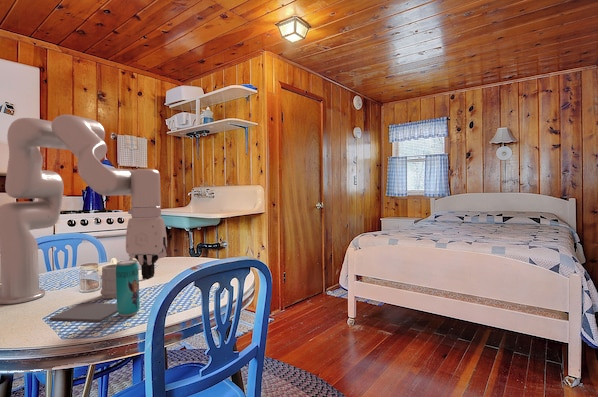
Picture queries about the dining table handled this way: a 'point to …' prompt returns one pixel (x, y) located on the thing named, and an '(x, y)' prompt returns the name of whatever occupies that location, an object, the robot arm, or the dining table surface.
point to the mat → (87, 312)
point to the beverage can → (127, 287)
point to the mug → (109, 281)
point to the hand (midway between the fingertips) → (148, 277)
